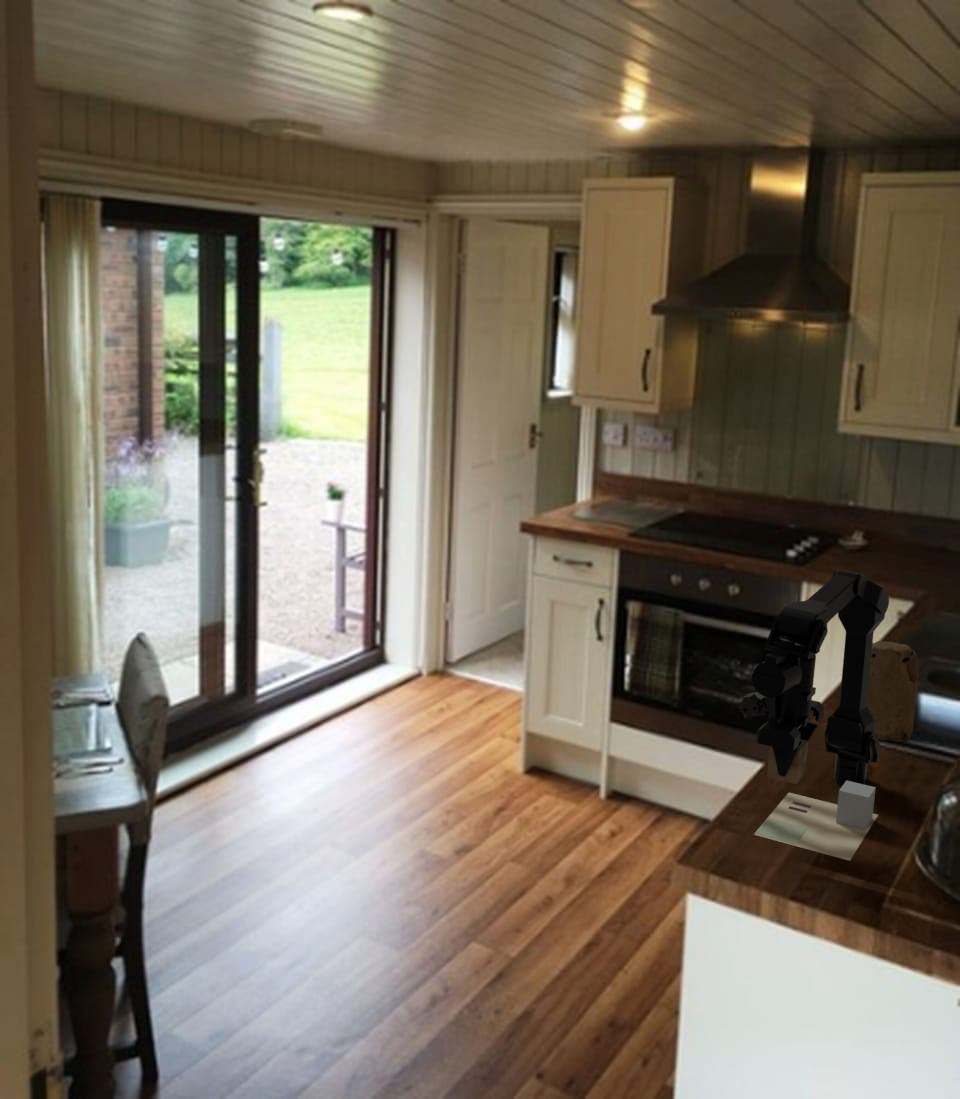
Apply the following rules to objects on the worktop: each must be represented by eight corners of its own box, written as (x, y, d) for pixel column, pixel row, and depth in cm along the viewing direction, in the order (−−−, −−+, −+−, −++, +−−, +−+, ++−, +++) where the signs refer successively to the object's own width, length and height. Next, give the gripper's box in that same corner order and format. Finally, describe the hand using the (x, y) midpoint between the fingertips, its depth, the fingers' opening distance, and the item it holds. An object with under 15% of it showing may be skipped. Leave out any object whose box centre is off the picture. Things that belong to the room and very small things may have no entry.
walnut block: (776, 767, 195) (779, 734, 194) (805, 774, 192) (808, 740, 191) (766, 776, 191) (770, 743, 189) (796, 784, 188) (799, 750, 187)
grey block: (843, 811, 201) (846, 780, 200) (872, 819, 199) (875, 787, 197) (835, 822, 197) (839, 790, 196) (865, 830, 195) (868, 797, 193)
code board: (788, 797, 209) (788, 792, 209) (877, 820, 201) (878, 814, 201) (753, 839, 192) (753, 834, 192) (849, 866, 184) (849, 860, 184)
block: (853, 734, 240) (863, 644, 236) (864, 724, 246) (874, 636, 242) (905, 747, 234) (916, 654, 229) (916, 736, 240) (927, 646, 235)
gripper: (765, 659, 200) (757, 742, 203) (729, 688, 184) (721, 777, 188) (829, 671, 194) (820, 756, 198) (797, 702, 179) (788, 794, 182)
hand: (786, 770), depth 191 cm, fingers closed on walnut block, 5 cm apart
